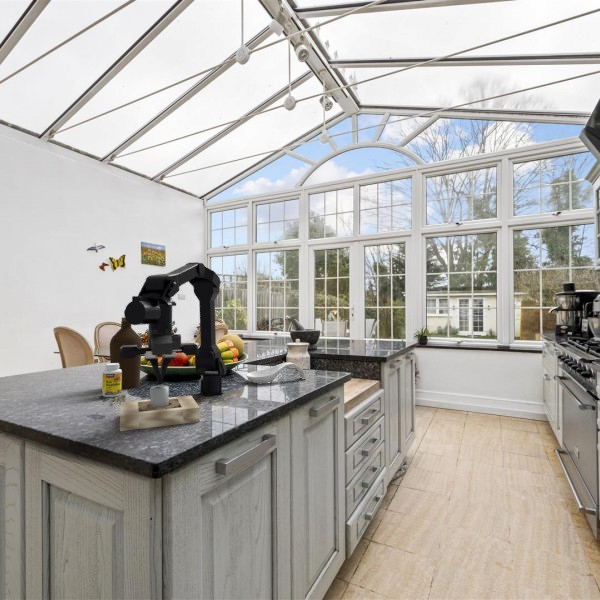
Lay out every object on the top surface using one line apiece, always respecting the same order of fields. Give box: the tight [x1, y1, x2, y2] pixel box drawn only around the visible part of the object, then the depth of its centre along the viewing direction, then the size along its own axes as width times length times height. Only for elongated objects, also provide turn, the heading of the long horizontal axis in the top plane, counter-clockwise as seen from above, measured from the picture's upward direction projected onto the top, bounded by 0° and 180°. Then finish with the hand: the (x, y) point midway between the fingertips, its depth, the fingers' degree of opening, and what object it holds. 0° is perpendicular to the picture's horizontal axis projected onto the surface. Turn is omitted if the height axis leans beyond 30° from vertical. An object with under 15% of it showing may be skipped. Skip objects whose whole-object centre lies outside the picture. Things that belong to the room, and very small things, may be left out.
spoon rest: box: [245, 362, 306, 384], centre depth 146 cm, size 24×12×7 cm, turn 116°
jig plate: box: [119, 395, 201, 432], centre depth 96 cm, size 18×14×4 cm
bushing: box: [149, 384, 170, 408], centre depth 96 cm, size 4×4×8 cm
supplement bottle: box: [101, 362, 122, 398], centre depth 121 cm, size 6×6×10 cm
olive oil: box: [109, 316, 143, 390], centre depth 134 cm, size 11×11×25 cm
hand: (159, 383), depth 96 cm, fingers closed
